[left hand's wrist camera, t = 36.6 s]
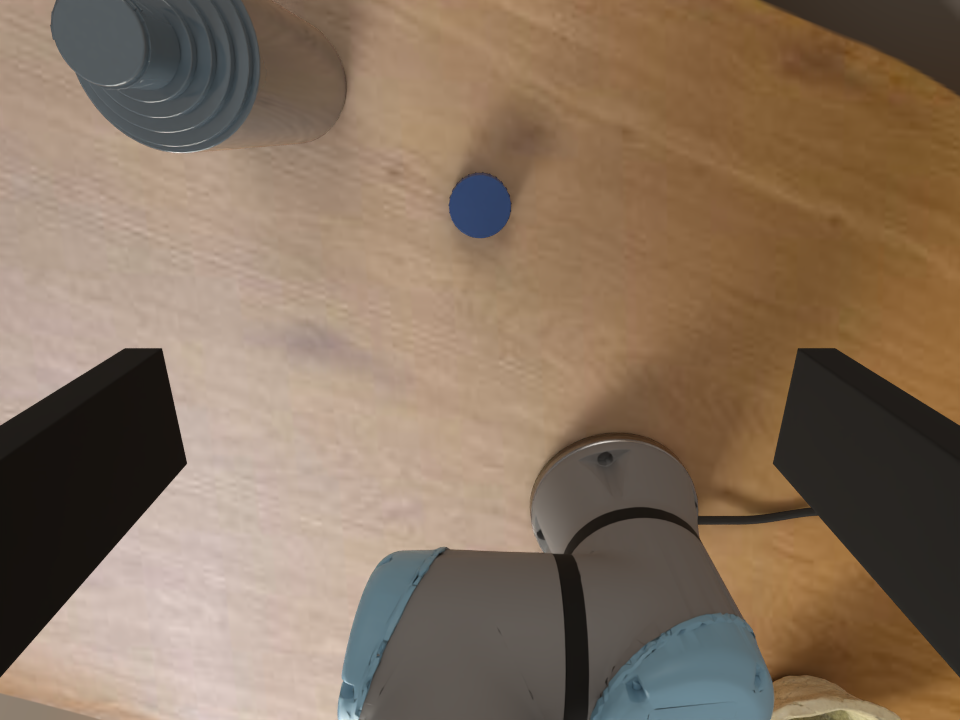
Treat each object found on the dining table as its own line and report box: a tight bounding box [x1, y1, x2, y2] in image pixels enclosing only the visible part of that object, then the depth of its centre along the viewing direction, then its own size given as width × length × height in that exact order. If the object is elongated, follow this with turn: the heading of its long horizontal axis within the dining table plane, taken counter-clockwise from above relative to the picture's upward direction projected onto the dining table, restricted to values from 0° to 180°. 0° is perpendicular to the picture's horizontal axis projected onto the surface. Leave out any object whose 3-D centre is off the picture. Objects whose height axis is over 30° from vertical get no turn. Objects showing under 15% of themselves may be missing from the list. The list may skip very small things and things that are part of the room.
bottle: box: [50, 0, 346, 153], centre depth 31 cm, size 8×8×22 cm
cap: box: [449, 172, 511, 238], centre depth 44 cm, size 5×5×2 cm
